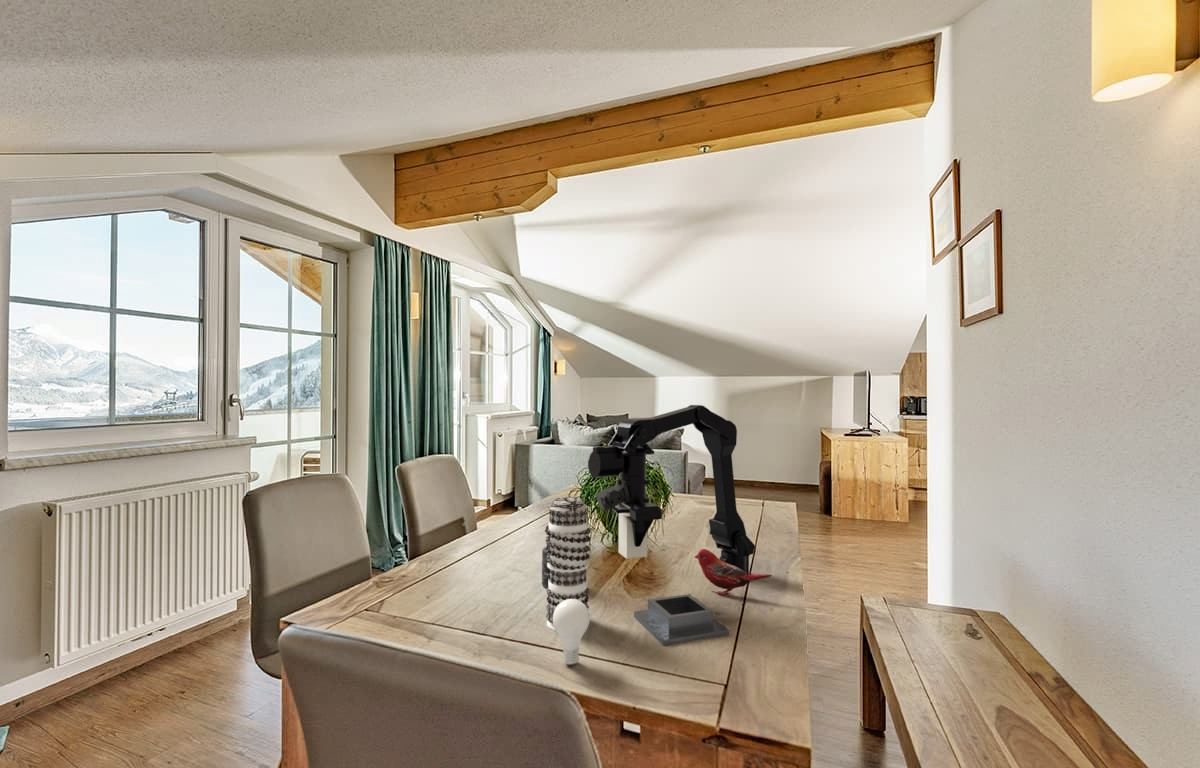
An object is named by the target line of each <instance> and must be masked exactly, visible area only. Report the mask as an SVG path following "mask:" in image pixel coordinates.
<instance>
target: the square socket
mask: <svg viewBox="0 0 1200 768" xmlns="http://www.w3.org/2000/svg"><path fill="white" fill-rule="evenodd" d="M633 618H635V619H636V620H637V621H638V622H639V623H640V624H641V625H642V626H643V627H644V628H645V629H646V630H647V631H648V632H649V633H650V634H651V635H652V636H653V637H654V638H655V639H656V640H657V641H658V642H659V643H660V645H662V646H671V645H677V644H682V643H687V642H694V641H700V640H708V639H713V638H719V637H726V636H730V629H729V628H728V627H726V626H725V625H724V624H722V623H721V622H720V621H719V620H717V619H715V617H714V611H713V610H712V609H711V608H709V606H707V605H706V604H704V603H703V602H702V601H700V600H698V599H697V598H696V597H695V596H693V595H692V594H690V593H687V594H678V595H673V596H665V597H663V596H662V597H657V598H656V597H655V598H652V599H651V598H650V599H647V609H642V610H635V611H633Z"/></svg>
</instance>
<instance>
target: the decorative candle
mask: <svg viewBox="0 0 1200 768" xmlns="http://www.w3.org/2000/svg"><path fill="white" fill-rule="evenodd" d="M547 508H548V509H549V521H548V525H546V527H545V529H544V532H545V534H546V537H545V544H546V543H547V544H546V546H545V547H546V550H547V553H548V554H547V557H546V560H547V561H548V563H547V567H548V568H549V581H548V588H546V593H547V597H546V602H547V603H548V604H547V605H546V607H545V608H546V612H547V613H546V615H545V616H546V618H547V619H546V626H547V628H548V627H549V628H548V629H549V630H552V631H553V632H556V633H557V631H556V630H555V628H554V625H553V613H554V610H555V608H556V607H557V606H558V604H559V603H561V602H562V601H564V600H566V599H577V600H579V601H581V602H582V603H584V604H585V606H586V607H587V609H588V610H589V609H590V606H589V603H588V602H589V599H590V598H589V596H588V594H589V591H590V589H589V587H588V578H587V568H589V567H590V566H589V561H587V560H588V559H590V558H591V555H590V554H589V553H588V552H589V551H590V550H591V547H590V546H589V545H588V544H587V543H588V542H590V541H591V536H589V534H590V533H592V530H591V528H589V527H588V519H587V518H588V517H587V513H588V508H589V506H588V505H586V504H585V502H584V501H583V499H581V498H579V497H574V496H561V497H558V498H555V499H554V500H553V501H552V503H551V504H550V505H548V506H547Z"/></svg>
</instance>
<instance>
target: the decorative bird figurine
mask: <svg viewBox="0 0 1200 768" xmlns="http://www.w3.org/2000/svg"><path fill="white" fill-rule="evenodd" d="M694 558H696V559H697V560H698V564H699V565H700V568H701V570H702V573H703V575H704V577H705V578H706V579H707V580H708V581H709V582H710V583H711V584H713V586H716V587H718V588H720V589H723V590H724V591H719V590H718V591H714V590H711V593H715V594H717V595H721V596H729V597H730V596H734V594H733V593H731V591H732V590H734V589H737V588H743V587H745V586H746V585H748V584H749V583H751V582H752V581H756V580H760V579H765V578H770V577H772V576H773V575H772V574H751V573H749V574H748V573H746V572H745V571H743V570H741V569H739V568H737V567H735V566H733V565H730V564H728V563H725V562H723V561H721V560H720V558H719V557H717V555H716V554H714V552H712V551H710V550H708V549H707V548H703V549H702V548H701V549H700V550H699V551H698V553H697V554H696V555H695V556H694ZM750 574H751V575H750Z"/></svg>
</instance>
